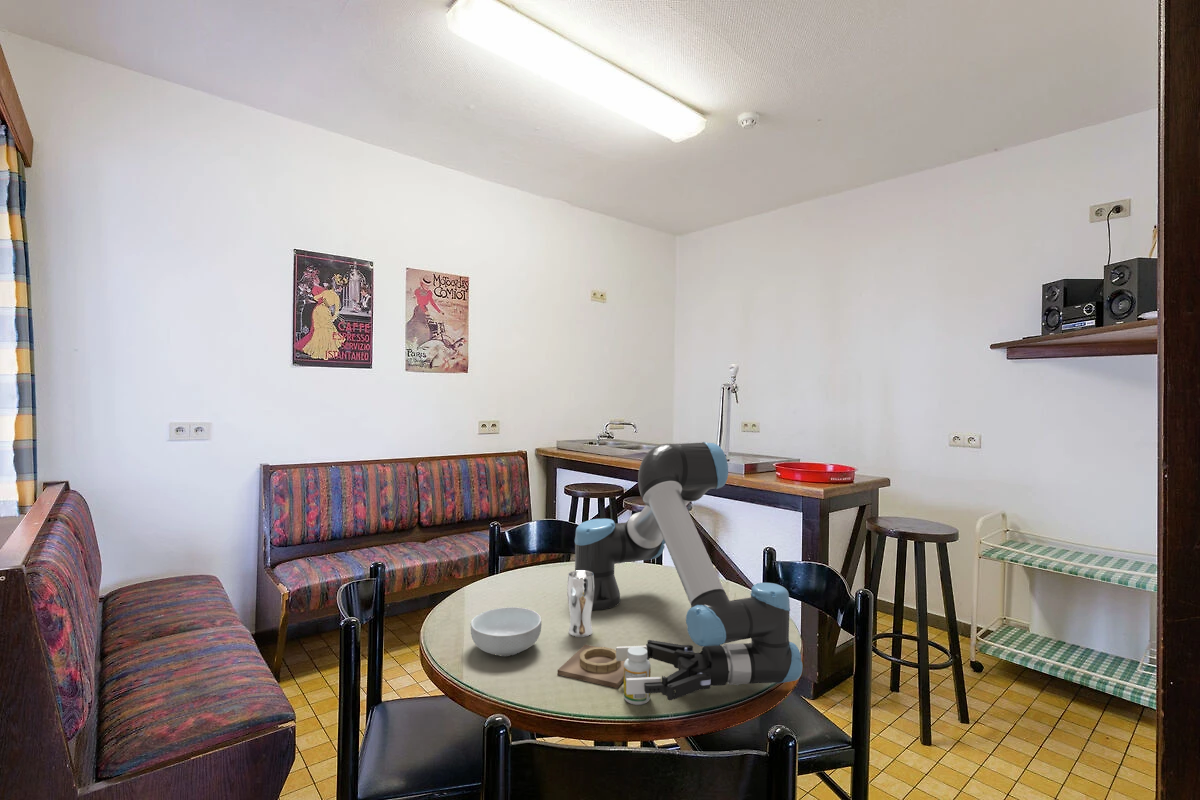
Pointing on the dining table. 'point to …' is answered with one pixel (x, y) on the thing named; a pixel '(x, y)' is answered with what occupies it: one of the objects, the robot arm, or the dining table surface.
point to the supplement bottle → (636, 672)
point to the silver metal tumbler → (580, 602)
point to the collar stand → (595, 666)
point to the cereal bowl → (506, 630)
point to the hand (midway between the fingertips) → (620, 669)
